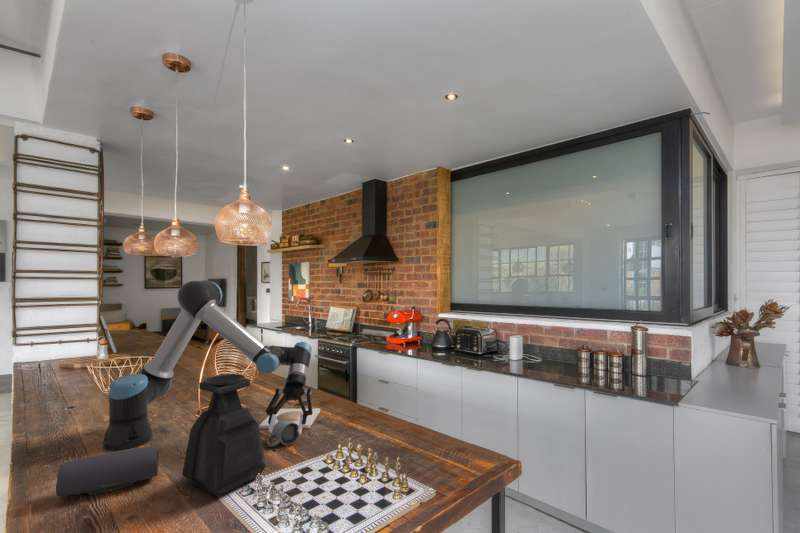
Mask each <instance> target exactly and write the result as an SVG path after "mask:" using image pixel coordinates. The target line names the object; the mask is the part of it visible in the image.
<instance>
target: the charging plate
mask: <svg viewBox="0 0 800 533" xmlns="http://www.w3.org/2000/svg"><path fill="white" fill-rule="evenodd" d="M301 399H302V402H303V404H304V406H308V404H307V398H301ZM298 406H299V407H298V408H281V409H280V410H279V411H278V413H277V414H276V415H275V416H276V421H275V424H276V423H277V422H278V421H280V420H283V419H286V420H289V421H292V422H294V423H296V424H297V425H298V426H299V421H300V416H301V414H303V411H302V409H301V406H300V404H299V403H298ZM305 409H306V411H308V408H305ZM312 412H313V414H312V415H308V416H307V419H306V424H305V425H303V427H302V429H310V427H311V426H312V424H314V421H315V420H316V418H317V417H318V416H319V414H320V412H321V408H316V407H315V408H312ZM269 416H270V415H267V417H266V418H265V419H264V420H263V421H262V422H261V423H260V424H258V426H259V430H260V429H261V430H262V429H265V430H266V429H268V430H269V426H270V425H269V423H268V420H269ZM274 426H275V425H274Z"/></svg>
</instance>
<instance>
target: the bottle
mask: <svg viewBox="0 0 800 533" xmlns="http://www.w3.org/2000/svg"><path fill="white" fill-rule="evenodd" d="M198 386H199V387H198V389H199V390H202V391H206V392H208V393H209V392H210V393H212V394H211V398H210V401H209V404H208V406H207V410H204V411H202V412H201V414H200V415H199V417H198V418H197V419H196V420H195V421H194V423H193V425H192V426H191V427H190V432H189V437H188V442H187V446H186V452H185V458H184V463H183V468H182V476H183V477H184V478H186V479H187V480H188V481H189V482H191V483H192V484H193V485H196V486H197V487H199V488H201V489H203V490H205V491H207V492H209V493H211V494H213V495H215V496H217V497H218V496H221V495H224V494H226V493H228V492H230V491H232V490H234V489H235V488H238V487H240V486H242V485H244V484H246V483H248V482H250V481H251V480H253V479H256V478H257V477H258V476H257V475H258V473H260V475H261V474H262V473H263V471H265V469H266V467H267V464H266V463H267V462H266V457H265V453H264V448H263V443H262V441H263V440H262V438H261V431H260V429H259V422H258V421H257V420H256V419H255V417H254V415H252V413H251V412H250V410H249V409H248V408H245V407H243V406H242V403H241V399H240V397H239V394H238V391H239V390H241V389H244V388H245V389H246V388H247V387H250V386H251V379H249V378H246V377H245V376H244V375H243V374H239V373H238V374H237V373H227V374H218V375H214V376H210V377H208V378H206V379H204V380H203V381H200V382H199V384H198Z"/></svg>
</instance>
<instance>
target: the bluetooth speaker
mask: <svg viewBox="0 0 800 533" xmlns="http://www.w3.org/2000/svg"><path fill="white" fill-rule="evenodd" d="M159 454H160V453H159V445H154V446H152V445H151V446H145V447H135V448H129V449H123V450H116V451H112V452H107V453H102V454H97V455H92V456H91V455H90V456H88V457H83V458H78V459H74V460H70V461H67V462H66V461H65V462H63V463H61V464H60V465H59V467H58V471H57V478H56V485H55V493H56V496H57V497H66V496H67V497H68V496H73V495H77V494H86V493H87V495H89V496H91V495H97V494H102V493H107V492H106V491H108V492H111V491H110V490H113V491H116V490H115V489H117V490H120V489H119V488H121V489H125V488H129V487H131V486H133V485H134V483H137V482H140V481H144V480H147V479H151V478H154V477H156V476H158V472H159V465H160V464H159V461H160V458H159V456H160V455H159ZM128 486H129V487H128ZM124 487H125V488H124Z"/></svg>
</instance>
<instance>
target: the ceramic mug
mask: <svg viewBox="0 0 800 533" xmlns="http://www.w3.org/2000/svg"><path fill="white" fill-rule="evenodd" d="M299 437H300V435H299V434H298V425H297V424H296V423H294V422H292V421H289V420H286V419H283V420H280V421H278V422H277V423H276V424H275V426H274V429H273V433H272V435H270V436H269V437H268V438H267V439H266V443H267V446H268V447H269V448H273V447H275V446H277V445H279V444H282V445H284V446H291V445H294V444H295V443H296V442H297V440H298V439H299ZM274 439H275V440H274ZM273 440H274V441H273ZM271 441H272V442H271Z"/></svg>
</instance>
